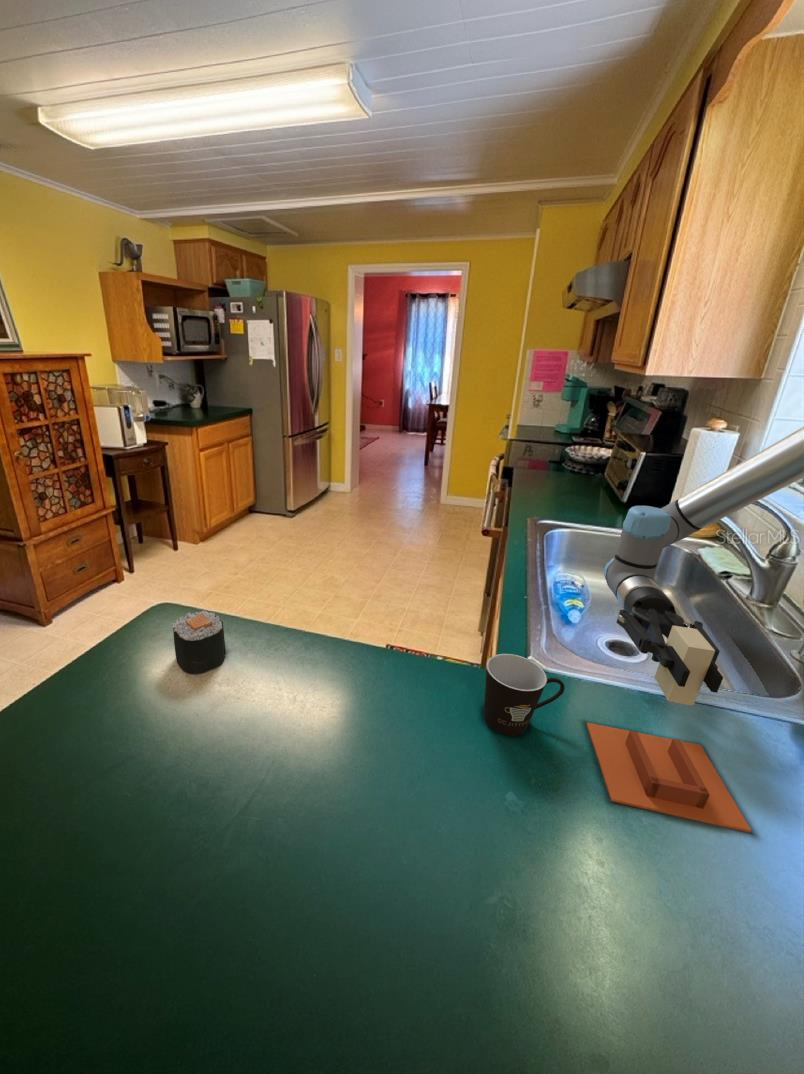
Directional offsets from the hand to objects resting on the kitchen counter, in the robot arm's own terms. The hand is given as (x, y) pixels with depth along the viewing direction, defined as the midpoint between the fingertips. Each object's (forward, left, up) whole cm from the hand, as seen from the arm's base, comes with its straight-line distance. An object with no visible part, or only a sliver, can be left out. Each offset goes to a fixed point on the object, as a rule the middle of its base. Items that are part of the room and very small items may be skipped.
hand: (700, 681), depth 67 cm
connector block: (0, -5, -6) cm, 8 cm away
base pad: (+5, +8, -12) cm, 15 cm away
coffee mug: (+24, +4, -12) cm, 27 cm away
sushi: (+78, +3, -12) cm, 79 cm away
